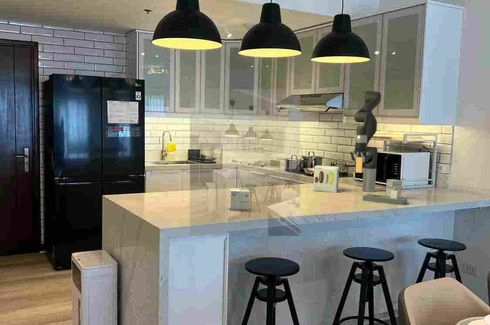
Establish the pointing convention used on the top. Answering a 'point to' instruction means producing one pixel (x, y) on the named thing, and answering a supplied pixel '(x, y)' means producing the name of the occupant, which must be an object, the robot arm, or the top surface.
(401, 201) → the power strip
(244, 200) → the light bulb box
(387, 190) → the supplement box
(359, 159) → the orange plug
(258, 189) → the top surface
